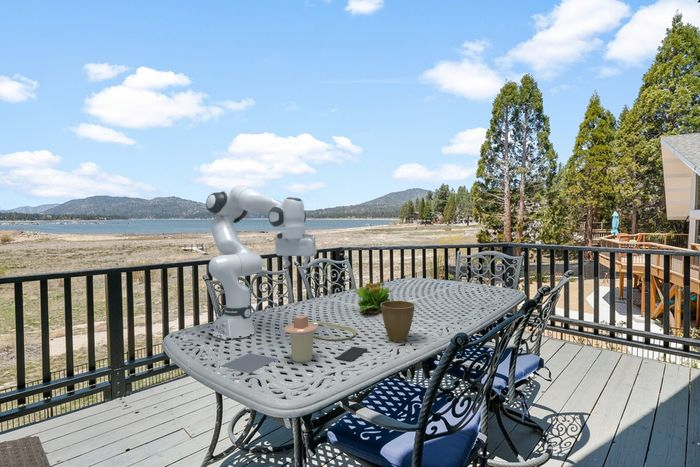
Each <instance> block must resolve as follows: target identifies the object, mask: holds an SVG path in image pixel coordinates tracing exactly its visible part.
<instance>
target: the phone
mask: <svg viewBox="0 0 700 467" xmlns="http://www.w3.org/2000/svg"><path fill="white" fill-rule="evenodd" d="M367 351H368V348H367V347H358V346H351V347H350V348H348V349H347V350H345V351H344V352H342V353H341V354H339V355H338V356H336V358H335V359H336V360H337V361H342V362H349V363H353V362H354V361H356V360H357V359H359V358H360V357H361V356H363V355H364V353H366V352H367Z"/></svg>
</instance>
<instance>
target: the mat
mask: <svg viewBox="0 0 700 467" xmlns="http://www.w3.org/2000/svg"><path fill="white" fill-rule="evenodd" d="M276 360H278V358H276V357H271V356H266V355H261V354H256V353H251V352H249V353H248V352H247V354H243V355H242V356H239V357H238V358H236V359H233V360H231V361H228V362H226V363H224V364H222V365H220V367H223V368H226V369H231V370H234V371H239V372H244V373H247V374H251V373H253V372H255V371H257V370H259V369H261V368H263V367H266V366H267V365H269V364H271V363H273V362H274V361H275V362H276Z"/></svg>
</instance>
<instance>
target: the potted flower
mask: <svg viewBox="0 0 700 467" xmlns="http://www.w3.org/2000/svg"><path fill="white" fill-rule="evenodd" d="M381 286H382V287H381ZM384 286H385V282H384V281H382V282H380V281H377V282H376V283H372V282H368V283H365V285H364V286H360V287H359V289H358V288H357V289H355V290H353V292H354V293H356V294H357V295H358V297H360V299H358V302H357V304H358V306H359V307H360V310H359V311H358V312H359V314H364V313H365V314H378V313H381V312H382V311H381V303H383V302H387V301H395V300H394V299H390V298H389V297H390V293H393V291H392V290H390V288H388V287H387V286H386V287H385V288H384Z"/></svg>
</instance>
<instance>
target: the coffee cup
mask: <svg viewBox="0 0 700 467" xmlns="http://www.w3.org/2000/svg"><path fill="white" fill-rule="evenodd" d="M313 335H314V332H311V333H306V334H289V339H290V340H289V341H290V349H291V357H292V361H293V362H296V363H306V362H310V361H312V360H313V356H314V355H313V354H314V337H313Z"/></svg>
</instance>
